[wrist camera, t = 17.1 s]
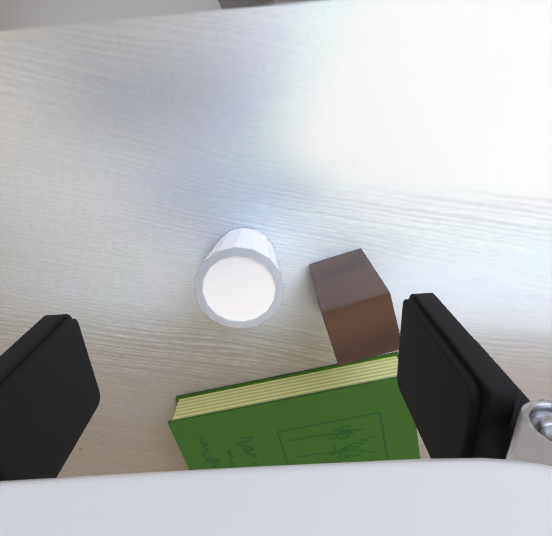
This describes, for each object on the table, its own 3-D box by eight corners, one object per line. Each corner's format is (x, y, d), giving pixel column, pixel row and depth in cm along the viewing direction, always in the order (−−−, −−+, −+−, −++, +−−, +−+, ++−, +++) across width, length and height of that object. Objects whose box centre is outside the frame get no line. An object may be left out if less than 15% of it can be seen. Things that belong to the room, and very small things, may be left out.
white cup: (293, 272, 35) (299, 308, 29) (229, 300, 36) (221, 341, 30) (261, 208, 33) (259, 232, 26) (194, 240, 34) (176, 270, 27)
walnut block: (309, 264, 35) (321, 312, 27) (361, 248, 34) (389, 292, 26) (323, 308, 37) (338, 366, 29) (372, 293, 36) (403, 348, 28)
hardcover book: (225, 507, 48) (221, 538, 45) (176, 396, 41) (168, 422, 37) (419, 473, 46) (432, 502, 43) (404, 350, 39) (418, 373, 35)
